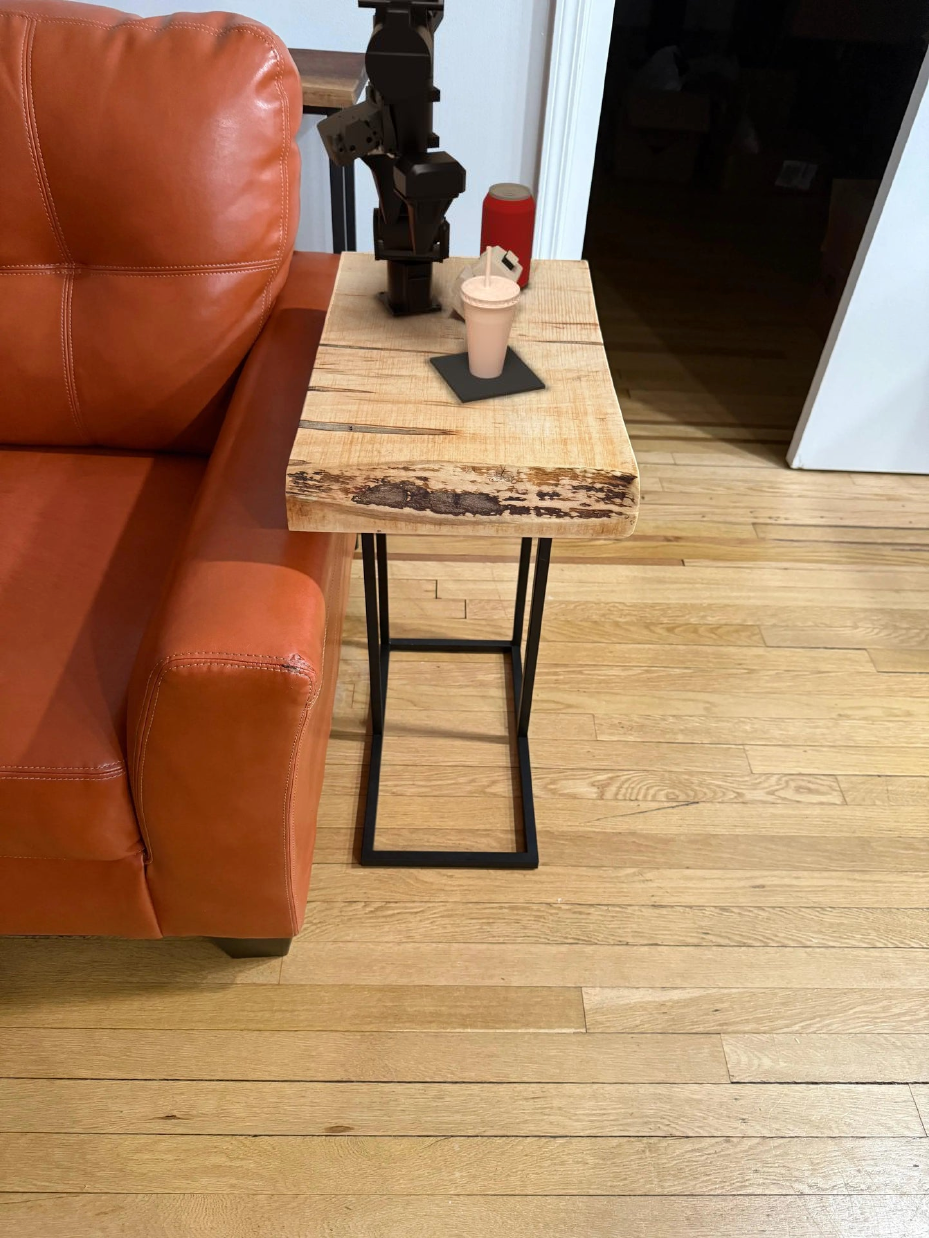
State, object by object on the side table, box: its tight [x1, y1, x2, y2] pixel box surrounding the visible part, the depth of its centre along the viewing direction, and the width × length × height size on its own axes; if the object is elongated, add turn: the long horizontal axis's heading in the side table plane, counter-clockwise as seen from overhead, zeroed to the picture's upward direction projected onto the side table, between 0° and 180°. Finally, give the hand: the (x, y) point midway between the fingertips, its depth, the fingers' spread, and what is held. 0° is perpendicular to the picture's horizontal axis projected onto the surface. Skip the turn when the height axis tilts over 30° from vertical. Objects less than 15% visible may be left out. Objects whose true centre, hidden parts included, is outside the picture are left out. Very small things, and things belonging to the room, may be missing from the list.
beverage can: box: [479, 182, 537, 289], centre depth 119 cm, size 7×7×12 cm
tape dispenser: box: [449, 246, 523, 320], centre depth 112 cm, size 6×7×10 cm
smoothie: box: [461, 246, 521, 378], centre depth 99 cm, size 6×6×14 cm
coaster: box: [429, 345, 546, 403], centre depth 104 cm, size 10×10×1 cm
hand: (404, 239), depth 99 cm, fingers open, 9 cm apart
